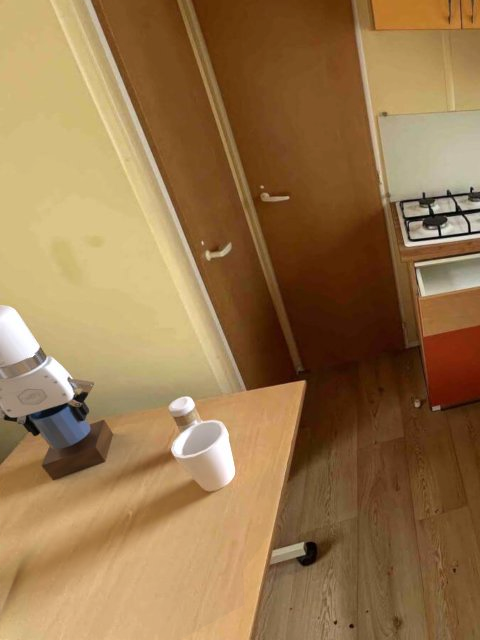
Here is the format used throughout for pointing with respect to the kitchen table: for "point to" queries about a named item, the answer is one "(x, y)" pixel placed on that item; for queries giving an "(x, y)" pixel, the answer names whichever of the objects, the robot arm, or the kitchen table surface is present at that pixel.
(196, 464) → the foam cup
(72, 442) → the cup
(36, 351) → the robot arm
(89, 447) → the block
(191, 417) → the sprinkles bottle
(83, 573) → the kitchen table surface
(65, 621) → the kitchen table surface
